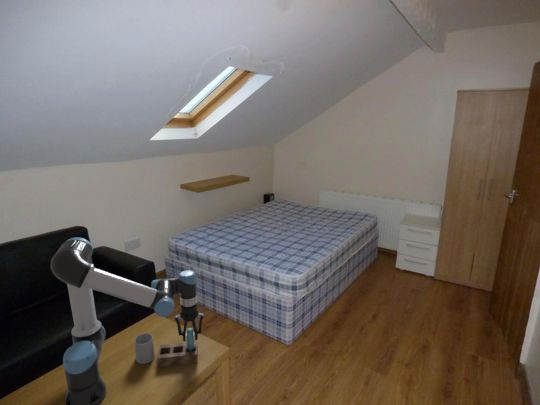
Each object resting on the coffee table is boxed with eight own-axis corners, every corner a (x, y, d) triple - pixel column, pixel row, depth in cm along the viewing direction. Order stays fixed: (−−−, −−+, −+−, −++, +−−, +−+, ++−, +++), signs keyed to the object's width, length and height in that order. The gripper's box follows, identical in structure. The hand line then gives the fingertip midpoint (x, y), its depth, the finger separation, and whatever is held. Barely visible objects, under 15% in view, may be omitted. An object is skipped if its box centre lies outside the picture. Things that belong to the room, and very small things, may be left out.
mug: (154, 362, 160) (152, 343, 157) (135, 365, 158) (133, 345, 155) (155, 345, 171) (154, 327, 168) (137, 348, 169) (135, 329, 166)
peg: (187, 351, 161) (186, 332, 158) (188, 347, 164) (187, 328, 161) (193, 351, 162) (193, 331, 159) (194, 346, 165) (193, 327, 162)
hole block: (158, 367, 157) (157, 358, 156) (160, 353, 166) (159, 345, 164) (197, 362, 161) (197, 354, 159) (197, 349, 169) (197, 341, 168)
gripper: (170, 309, 151) (172, 352, 157) (206, 306, 154) (207, 349, 160) (171, 299, 158) (174, 342, 165) (206, 297, 161) (207, 339, 167)
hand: (190, 345), depth 162 cm, fingers closed on peg, 3 cm apart
